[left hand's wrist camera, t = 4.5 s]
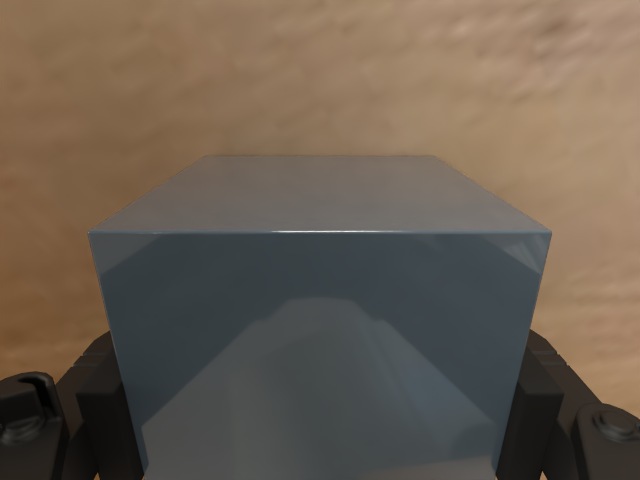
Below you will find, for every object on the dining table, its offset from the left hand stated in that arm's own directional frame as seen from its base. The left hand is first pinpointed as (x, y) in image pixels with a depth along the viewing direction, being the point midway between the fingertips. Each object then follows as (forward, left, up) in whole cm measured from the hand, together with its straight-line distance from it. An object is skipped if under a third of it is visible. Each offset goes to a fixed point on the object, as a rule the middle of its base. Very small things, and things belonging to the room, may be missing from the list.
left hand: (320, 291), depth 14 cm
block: (0, 0, -1) cm, 1 cm away
